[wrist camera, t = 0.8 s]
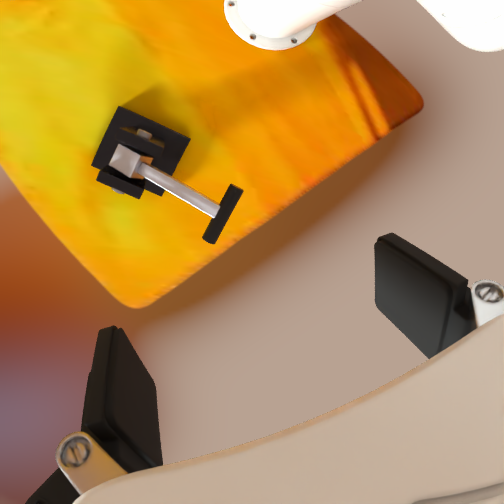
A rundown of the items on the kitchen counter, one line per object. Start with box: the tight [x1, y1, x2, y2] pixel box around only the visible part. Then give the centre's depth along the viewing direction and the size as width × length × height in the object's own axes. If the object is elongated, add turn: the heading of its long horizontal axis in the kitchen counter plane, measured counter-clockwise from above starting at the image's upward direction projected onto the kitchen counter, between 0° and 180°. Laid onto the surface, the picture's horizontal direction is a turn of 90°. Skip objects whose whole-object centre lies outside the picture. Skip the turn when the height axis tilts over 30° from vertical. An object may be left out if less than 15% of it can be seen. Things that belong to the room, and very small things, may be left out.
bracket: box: [91, 106, 191, 199], centre depth 30 cm, size 10×8×13 cm
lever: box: [109, 144, 243, 244], centre depth 26 cm, size 12×5×2 cm, turn 60°
